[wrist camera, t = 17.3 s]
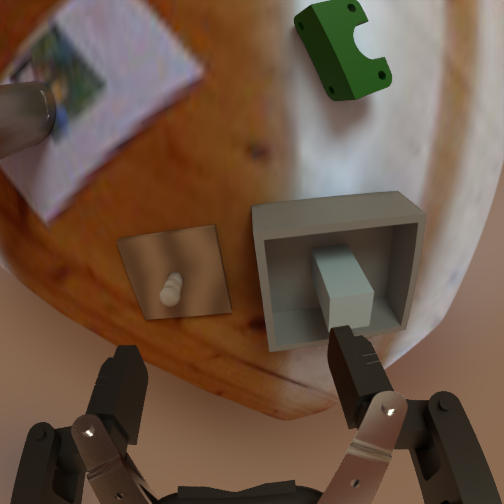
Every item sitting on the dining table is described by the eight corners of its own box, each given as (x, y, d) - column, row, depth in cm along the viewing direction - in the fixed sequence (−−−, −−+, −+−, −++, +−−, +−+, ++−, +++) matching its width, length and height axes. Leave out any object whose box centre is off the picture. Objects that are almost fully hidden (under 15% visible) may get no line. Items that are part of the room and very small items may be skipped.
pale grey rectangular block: (311, 248, 42) (330, 298, 32) (347, 244, 42) (374, 291, 32) (312, 279, 44) (328, 332, 35) (345, 274, 44) (369, 325, 35)
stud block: (146, 315, 48) (137, 343, 43) (118, 238, 42) (102, 262, 36) (232, 308, 48) (230, 337, 42) (215, 224, 41) (210, 248, 36)
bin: (266, 314, 49) (269, 352, 42) (251, 205, 40) (253, 232, 33) (387, 297, 48) (405, 329, 41) (398, 190, 39) (426, 213, 32)
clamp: (348, 75, 36) (396, 97, 30) (311, 89, 35) (357, 113, 30) (330, -7, 26) (384, -1, 21) (288, 3, 26) (337, 7, 20)
